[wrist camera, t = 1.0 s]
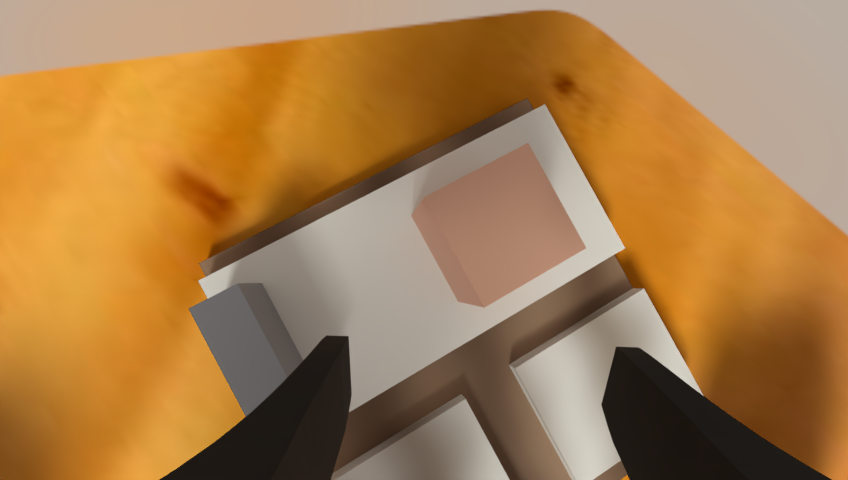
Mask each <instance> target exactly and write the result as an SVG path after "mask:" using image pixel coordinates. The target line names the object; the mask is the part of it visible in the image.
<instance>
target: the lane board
mask: <svg viewBox="0 0 848 480" xmlns="http://www.w3.org/2000/svg"><path fill="white" fill-rule="evenodd" d="M532 110H534V109H533V107H532V105H531V103H530V102H529V100H528V98H527V99H525V100H523V101H521V102H519V103H517V104H515V105H513V106H511V107H509V108H507V109H505V110H503V111H501V112H499V113H497V114H495V115H493V116H491V117H489V118H487V119H485V120H483V121H481V122H479V123H477V124H475V125H473V126H471V127H469V128H467V129H465V130H463V131H461V132H459V133H457V134H455V135H453V136H451V137H449V138H447V139H445V140H443V141H441V142H439V143H437V144H435V145H433V146H431V147H429V148H427V149H425V150H423V151H421V152H419V153H417V154H415V155H413V156H411V157H409V158H407V159H405V160H403V161H401V162H399V163H397V164H396V165H394V166H392V167H390V168H388V169H386V170H384V171H382V172H380V173H378V174H376V175H374V176H372V177H370V178H368V179H366V180H364V181H362V182H360V183H358V184H356V185H354V186H352V187H350V188H348V189H346V190H344V191H342V192H340V193H338V194H336V195H334V196H332V197H330V198H328V199H326V200H324V201H322V202H320V203H318V204H316V205H314V206H312V207H310V208H308V209H306V210H304V211H302V212H300V213H298V214H296V215H294V216H292V217H290V218H288V219H286V220H284V221H282V222H280V223H278V224H276V225H274V226H272V227H270V228H268V229H266V230H264V231H262V232H260V233H258V234H256V235H254V236H252V237H250V238H248V239H246V240H244V241H242V242H240V243H238V244H236V245H234V246H232V247H230V248H228V249H226V250H224V251H222V252H220V253H218V254H216V255H214V256H212V257H210V258H209V259H207V260H205V261H203V262H201V263H199V264H200V266H201V268H202V270H203V272H204V274H205V276H206V277H207V276H208V275H210V274H212V273H214V272H216V271H218V270H220V269H222V268H224V267H226V266H228V265H230V264H232V263H234V262H236V261H238V260H240V259H242V258H244V257H246V256H248V255H250V254H252V253H254V252H256V251H258V250H260V249H261V248H263V247H265V246H267V245H269V244H271V243H273V242H275V241H277V240H279V239H281V238H283V237H285V236H287V235H289V234H291V233H293V232H295V231H297V230H299V229H301V228H303V227H305V226H307V225H309V224H311V223H313V222H315V221H316V220H318V219H320V218H322V217H324V216H326V215H328V214H330V213H332V212H334V211H336V210H338V209H340V208H342V207H344V206H346V205H348V204H350V203H352V202H354V201H356V200H358V199H360V198H362V197H364V196H366V195H368V194H369V193H371V192H373V191H375V190H377V189H379V188H381V187H383V186H385V185H387V184H389V183H391V182H393V181H395V180H397V179H399V178H401V177H403V176H405V175H407V174H409V173H411V172H413V171H415V170H417V169H419V168H421V167H423V166H424V165H426V164H428V163H430V162H432V161H434V160H436V159H438V158H440V157H442V156H444V155H446V154H448V153H450V152H452V151H454V150H456V149H458V148H460V147H462V146H464V145H466V144H468V143H470V142H472V141H474V140H476V139H477V138H479V137H481V136H483V135H485V134H487V133H489V132H491V131H493V130H495V129H497V128H499V127H501V126H503V125H505V124H507V123H509V122H511V121H513V120H515V119H517V118H519V117H521V116H523V115H525V114H527V113H529V112H531V111H532ZM616 347H639V348H641V349H642V350H643V351H645V352H646V353H648V354H649V355H651V356H652V357H653V358H655V359H656V360H657V361H658V362H660V363H661V364H662V365H664V366H665V367H666V368H668V369H669V370H670V371H672V372H673V373H674V374H675V375H677V376H678V377H679V378H681V379H682V380H683V381H684V382H686V383H687V384H688V385H690V386H691V387H692V388H694V389H695V390H696V391H698V392H699V393H700V394H702V392H701V390H700V388H699V387H698V385H697V383H696V381H695V379H694V378H693V376H692V374H691V372H690V370H689V369H688V367H687V365H686V363H685V361H684V360H683V358H682V356H681V354H680V352H679V351H678V349H677V347H676V345H675V343H674V342H673V340H672V338H671V336H670V334H669V333H668V331H667V329H666V327H665V325H664V324H663V322H662V320H661V318H660V316H659V315H658V313H657V311H656V309H655V307H654V306H653V304H652V302H651V300H650V298H649V297H648V295H647V293H646V291H645V289H644V288H633V287H632V285H631V284H630V282H629V280H628V278H627V276H626V275H625V273H624V271H623V269H622V267H621V266H620V264H619V262H618V260H617V258H616V257H615V255H613V256H611V257H609V258H608V259H606V260H604V261H603V262H601V263H599V264H598V265H596V266H594V267H593V268H591V269H589V270H588V271H586V272H584V273H582V274H581V275H579V276H577V277H576V278H574V279H572V280H571V281H569V282H567V283H566V284H564V285H562V286H561V287H559V288H557V289H556V290H554V291H552V292H551V293H549V294H547V295H546V296H544V297H542V298H540V299H539V300H537V301H535V302H534V303H532V304H530V305H529V306H527V307H525V308H524V309H522V310H520V311H519V312H517V313H515V314H514V315H512V316H510V317H509V318H507V319H505V320H503V321H502V322H500V323H498V324H497V325H495V326H493V327H492V328H490V329H488V330H487V331H485V332H483V333H482V334H480V335H478V336H477V337H475V338H473V339H472V340H470V341H468V342H466V343H465V344H463V345H461V346H460V347H458V348H456V349H455V350H453V351H451V352H450V353H448V354H446V355H445V356H443V357H441V358H440V359H438V360H436V361H435V362H433V363H431V364H429V365H428V366H426V367H424V368H423V369H421V370H419V371H418V372H416V373H414V374H413V375H411V376H409V377H408V378H406V379H404V380H403V381H401V382H399V383H398V384H396V385H394V386H393V387H391V388H389V389H387V390H386V391H384V392H382V393H381V394H379V395H377V396H376V397H374V398H372V399H371V400H369V401H367V402H366V403H364V404H362V405H361V406H359V407H357V408H356V409H354V410H352V411H350V412H349V413H348V419H347V424H346V430H345V433H344V437H343V440H342V444H341V447H340V450H339V454H338V457H337V460H336V464H335V467H334V470H333V474H332V477H331V480H621V479H622V478H623V477H625V476H626V475H627V472H626V470H625V468H624V466H623V464H622V461H621V459H620V457H619V455H618V453H617V450H616V448H615V446H614V443H613V441H612V438H611V435H610V432H609V429H608V426H607V423H606V419H605V416H604V412H603V409H602V406H601V404H602V400H603V396H604V392H605V388H606V384H607V380H608V376H609V372H610V368H611V365H612V361H613V357H614V353H615V349H616ZM702 395H703V394H702Z"/></svg>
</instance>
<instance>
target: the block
mask: <svg viewBox="0 0 848 480" xmlns="http://www.w3.org/2000/svg"><path fill="white" fill-rule="evenodd" d="M411 216H412V218H413V220H414V222H415V224H416V225H417V227H418V229H419V231H420V233H421V235H422V236H423V238H424V240H425V242H426V244H427V246H428V247H429V249H430V251H431V253H432V255H433V257H434V258H435V260H436V262H437V264H438V266H439V268H440V269H441V271H442V273H443V275H444V277H445V279H446V280H447V282H448V284H449V286H450V288H451V290H452V291H453V293H454V295H455V297H456V299H457V301H458V302H462V303H466V304H470V305H475V306H479V307H483V308H485V307H486V306H488V305H490V304H491V303H493V302H495V301H497V300H498V299H500V298H502V297H503V296H505V295H507V294H509V293H510V292H512V291H514V290H515V289H517V288H519V287H521V286H522V285H524V284H526V283H527V282H529V281H531V280H533V279H534V278H536V277H538V276H539V275H541V274H543V273H545V272H546V271H548V270H550V269H551V268H553V267H555V266H556V265H558V264H560V263H562V262H563V261H565V260H567V259H568V258H570V257H572V256H574V255H575V254H577V253H579V252H580V251H582V250H584V249H586V246H585V245H584V243H583V241H582V239H581V237H580V236H579V234H578V232H577V230H576V228H575V227H574V225H573V223H572V221H571V219H570V218H569V216H568V214H567V212H566V210H565V209H564V207H563V205H562V203H561V201H560V199H559V198H558V196H557V194H556V192H555V190H554V189H553V187H552V185H551V183H550V181H549V180H548V178H547V176H546V174H545V172H544V171H543V169H542V167H541V165H540V163H539V162H538V160H537V158H536V156H535V154H534V153H533V151H532V149H531V147H530V145H529V143H527V144H525V145H523V146H521V147H519V148H517V149H515V150H513V151H511V152H509V153H507V154H505V155H504V156H502V157H500V158H498V159H496V160H494V161H492V162H490V163H488V164H486V165H484V166H483V167H481V168H479V169H477V170H475V171H473V172H471V173H469V174H467V175H465V176H463V177H461V178H460V179H458V180H456V181H454V182H452V183H450V184H448V185H446V186H444V187H442V188H440V189H439V190H437V191H435V192H433V193H431V194H429V195H427V196H425V197H424V198H423V199H422V201H421V202H420V204H419V205H418V207H417V208H416V210H415V211H414V213H413V214H412V215H411Z"/></svg>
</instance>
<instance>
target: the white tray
mask: <svg viewBox="0 0 848 480" xmlns="http://www.w3.org/2000/svg"><path fill="white" fill-rule="evenodd" d="M527 143H529V145H530V147H531V149H532V151H533V153H534V154H535V156H536V158H537V160H538V162H539V163H540V165H541V167H542V169H543V171H544V172H545V174H546V176H547V178H548V180H549V181H550V183H551V185H552V187H553V189H554V190H555V192H556V194H557V196H558V198H559V199H560V201H561V203H562V205H563V207H564V209H565V210H566V212H567V214H568V216H569V218H570V219H571V221H572V223H573V225H574V227H575V228H576V230H577V232H578V234H579V236H580V237H581V239H582V241H583V243H584V245H585V246H586V249H584V250H582V251H580V252H579V253H577V254H575V255H574V256H572V257H570V258H568V259H567V260H565V261H563V262H562V263H560V264H558V265H556V266H555V267H553V268H551V269H550V270H548V271H546V272H545V273H543V274H541V275H539V276H538V277H536V278H534V279H533V280H531V281H529V282H527V283H526V284H524V285H522V286H521V287H519V288H517V289H515V290H514V291H512V292H510V293H509V294H507V295H505V296H503V297H502V298H500V299H498V300H497V301H495V302H493V303H491V304H490V305H488V306H486V307H485V308H483V307H479V306H475V305H470V304H466V303H462V302H458V301H457V299H456V297H455V295H454V293H453V291H452V290H451V288H450V286H449V284H448V282H447V280H446V279H445V277H444V275H443V273H442V271H441V269H440V268H439V266H438V264H437V262H436V260H435V258H434V257H433V255H432V253H431V251H430V249H429V247H428V246H427V244H426V242H425V240H424V238H423V236H422V235H421V233H420V231H419V229H418V227H417V225H416V224H415V222H414V220H413V218H412V216H411V215H412V214H413V213H414V211H415V210H416V208H417V207H418V205H419V204H420V202H421V201H422V199H423V198H424V197H425V196H427V195H429V194H431V193H433V192H435V191H437V190H439V189H440V188H442V187H444V186H446V185H448V184H450V183H452V182H454V181H456V180H458V179H460V178H461V177H463V176H465V175H467V174H469V173H471V172H473V171H475V170H477V169H479V168H481V167H483V166H484V165H486V164H488V163H490V162H492V161H494V160H496V159H498V158H500V157H502V156H504V155H505V154H507V153H509V152H511V151H513V150H515V149H517V148H519V147H521V146H523V145H525V144H527ZM623 249H625V247H624V245H623V244H622V242H621V240H620V238H619V236H618V235H617V233H616V231H615V229H614V227H613V226H612V224H611V222H610V220H609V218H608V217H607V215H606V213H605V211H604V209H603V208H602V206H601V204H600V202H599V200H598V199H597V197H596V195H595V193H594V191H593V190H592V188H591V186H590V184H589V182H588V181H587V179H586V177H585V175H584V173H583V172H582V170H581V168H580V166H579V164H578V163H577V161H576V159H575V157H574V155H573V154H572V152H571V150H570V148H569V146H568V145H567V143H566V141H565V139H564V137H563V136H562V134H561V132H560V130H559V128H558V127H557V125H556V123H555V121H554V119H553V118H552V116H551V114H550V112H549V110H548V109H547V107H546V105H545V104H544V105H542V106H540V107H538V108H536V109H534V110H532V111H531V112H529V113H527V114H525V115H523V116H521V117H519V118H517V119H515V120H513V121H511V122H509V123H507V124H505V125H503V126H501V127H499V128H497V129H495V130H493V131H491V132H489V133H487V134H485V135H483V136H481V137H479V138H477V139H476V140H474V141H472V142H470V143H468V144H466V145H464V146H462V147H460V148H458V149H456V150H454V151H452V152H450V153H448V154H446V155H444V156H442V157H440V158H438V159H436V160H434V161H432V162H430V163H428V164H426V165H424V166H423V167H421V168H419V169H417V170H415V171H413V172H411V173H409V174H407V175H405V176H403V177H401V178H399V179H397V180H395V181H393V182H391V183H389V184H387V185H385V186H383V187H381V188H379V189H377V190H375V191H373V192H371V193H369V194H368V195H366V196H364V197H362V198H360V199H358V200H356V201H354V202H352V203H350V204H348V205H346V206H344V207H342V208H340V209H338V210H336V211H334V212H332V213H330V214H328V215H326V216H324V217H322V218H320V219H318V220H316V221H315V222H313V223H311V224H309V225H307V226H305V227H303V228H301V229H299V230H297V231H295V232H293V233H291V234H289V235H287V236H285V237H283V238H281V239H279V240H277V241H275V242H273V243H271V244H269V245H267V246H265V247H263V248H261V249H260V250H258V251H256V252H254V253H252V254H250V255H248V256H246V257H244V258H242V259H240V260H238V261H236V262H234V263H232V264H230V265H228V266H226V267H224V268H222V269H220V270H218V271H216V272H214V273H212V274H210V275H208V276H207V277H205V278H203V279H201V280H199V283H200V285H201V287H202V289H203V291H204V293H205V294H206V296H207V298H208V299H206V300H204V301H202V302H201V303H199V304H197V305H195V306H193V307H191V308H189V310H190V312H191V314H192V316H193V318H194V320H195V322H196V324H197V325H198V327H199V329H200V331H201V333H202V335H203V337H204V339H205V340H206V342H207V344H208V346H209V348H210V350H211V352H212V354H213V356H214V357H215V359H216V361H217V363H218V365H219V367H220V369H221V371H222V373H223V374H224V376H225V378H226V380H227V382H228V384H229V386H230V388H231V390H232V391H233V393H234V395H235V397H236V399H237V401H238V403H239V405H240V406H241V408H242V410H243V412H244V414H245V416H247V415H248V414H250V413H251V412H252V411H253V410H254V409H255V408H256V407H257V406H258V405H259V404H261V403H262V402H263V401H264V400H265V399H266V398H267V397H268V396H269V395H270V394H271V393H272V392H273V391H274V390H275V389H276V388H277V387H278V386H279V385H280V384H281V383H282V382H283V381H284V380H285V379H286V378H287V377H288V376H289V375H290V374H291V373H292V372H293V371H294V370H295V369H296V368H297V367H298V366H299V365H300V363H301V362H302V361H303V360H304V359H305V358H306V357H307V356H308V355H309V354H310V352H311V351H312V350H313V349H314V348H315V347H316V346H317V344H318V343H319V342H320V341H321V340H322V339H323V338H324V337H325V336H326V335H329V336H349V352H350V371H351V391H352V396H351V402H350V408H349V412H350V411H352V410H354V409H356V408H357V407H359V406H361V405H362V404H364V403H366V402H367V401H369V400H371V399H372V398H374V397H376V396H377V395H379V394H381V393H382V392H384V391H386V390H387V389H389V388H391V387H393V386H394V385H396V384H398V383H399V382H401V381H403V380H404V379H406V378H408V377H409V376H411V375H413V374H414V373H416V372H418V371H419V370H421V369H423V368H424V367H426V366H428V365H429V364H431V363H433V362H435V361H436V360H438V359H440V358H441V357H443V356H445V355H446V354H448V353H450V352H451V351H453V350H455V349H456V348H458V347H460V346H461V345H463V344H465V343H466V342H468V341H470V340H472V339H473V338H475V337H477V336H478V335H480V334H482V333H483V332H485V331H487V330H488V329H490V328H492V327H493V326H495V325H497V324H498V323H500V322H502V321H503V320H505V319H507V318H509V317H510V316H512V315H514V314H515V313H517V312H519V311H520V310H522V309H524V308H525V307H527V306H529V305H530V304H532V303H534V302H535V301H537V300H539V299H540V298H542V297H544V296H546V295H547V294H549V293H551V292H552V291H554V290H556V289H557V288H559V287H561V286H562V285H564V284H566V283H567V282H569V281H571V280H572V279H574V278H576V277H577V276H579V275H581V274H582V273H584V272H586V271H588V270H589V269H591V268H593V267H594V266H596V265H598V264H599V263H601V262H603V261H604V260H606V259H608V258H609V257H611V256H613V255H614V254H616V253H618V252H619V251H621V250H623Z"/></svg>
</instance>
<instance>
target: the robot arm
mask: <svg viewBox="0 0 848 480" xmlns="http://www.w3.org/2000/svg"><path fill="white" fill-rule="evenodd" d="M351 396H352V391H351V371H350V352H349V336H329V335H326V336H325V337H324V338H323V339H322V340H321V341H320V342H319V343H318V344H317V346H316V347H315V348H314V349H313V350H312V351H311V352H310V354H309V355H308V356H307V357H306V358H305V359H304V360H303V361H302V362H301V363H300V365H299V366H298V367H297V368H296V369H295V370H294V371H293V372H292V373H291V374H290V375H289V376H288V377H287V378H286V379H285V380H284V381H283V382H282V383H281V384H280V385H279V386H278V387H277V388H276V389H275V390H274V391H273V392H272V393H271V394H270V395H269V396H268V397H267V398H266V399H265V400H264V401H263V402H262V403H261V404H259V405H258V406H257V407H256V408H255V409H254V410H253V411H252V412H251V413H250V414H248V415H247V416H246V417H245V418H244V419H243V420H242V421H240V422H239V423H238V424H237V425H236V426H234V427H233V428H232V429H231V430H229V431H228V432H227V433H226V434H224V435H223V436H222V437H221V438H219V439H218V440H217V441H215V442H214V443H213V444H211V445H210V446H209V447H207V448H206V449H204V450H203V451H201V452H200V453H199V454H197V455H196V456H194V457H193V458H191V459H190V460H188V461H187V462H186V463H184V464H183V465H181V466H180V467H178V468H177V469H176V470H174V471H172V472H171V473H169V474H168V475H166V476H165V477H163V478H161V479H160V480H331V477H332V474H333V470H334V467H335V464H336V460H337V457H338V454H339V450H340V447H341V444H342V440H343V437H344V433H345V430H346V424H347V419H348V413H349V408H350V402H351ZM601 406H602V409H603V412H604V416H605V419H606V423H607V426H608V429H609V432H610V435H611V438H612V441H613V443H614V446H615V448H616V450H617V453H618V455H619V457H620V459H621V461H622V464H623V466H624V468H625V470H626V472H627V475H628V477H629V479H630V480H831V479H830V478H828V477H826V476H824V475H823V474H821V473H819V472H817V471H816V470H814V469H812V468H810V467H809V466H807V465H805V464H804V463H802V462H801V461H799V460H797V459H796V458H794V457H792V456H791V455H789V454H787V453H786V452H784V451H783V450H781V449H779V448H778V447H776V446H774V445H773V444H771V443H770V442H768V441H767V440H765V439H764V438H762V437H761V436H759V435H758V434H756V433H755V432H753V431H752V430H750V429H749V428H747V427H746V426H745V425H743V424H742V423H740V422H739V421H737V420H736V419H734V418H733V417H732V416H730V415H729V414H727V413H726V412H725V411H723V410H722V409H720V408H719V407H718V406H716V405H715V404H714V403H712V402H711V401H710V400H708V399H707V398H705V397H704V396H703V395H702V394H700V393H699V392H698V391H696V390H695V389H694V388H692V387H691V386H690V385H688V384H687V383H686V382H684V381H683V380H682V379H681V378H679V377H678V376H677V375H675V374H674V373H673V372H672V371H670V370H669V369H668V368H666V367H665V366H664V365H662V364H661V363H660V362H658V361H657V360H656V359H655V358H653V357H652V356H651V355H649V354H648V353H646V352H645V351H643V350H642V349H641V348H639V347H616V349H615V353H614V357H613V361H612V365H611V368H610V372H609V376H608V380H607V384H606V388H605V392H604V396H603V400H602V404H601Z"/></svg>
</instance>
